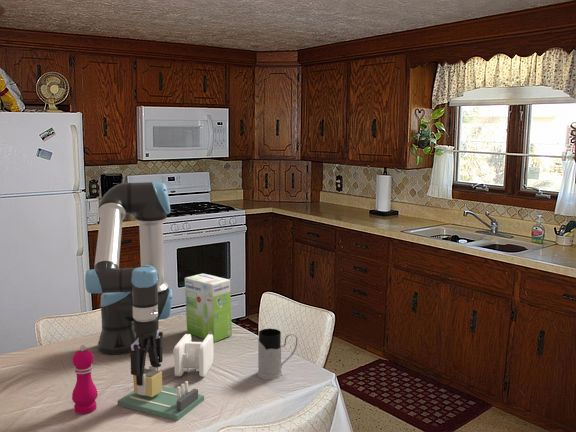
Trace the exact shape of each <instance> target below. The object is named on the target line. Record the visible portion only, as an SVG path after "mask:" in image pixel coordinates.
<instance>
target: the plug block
mask: <svg viewBox="0 0 576 432" xmlns="http://www.w3.org/2000/svg"><path fill="white" fill-rule="evenodd" d="M144 374H146V396H150V397H153V396H155V395H156V394H158V393H159V392H161V391H162V386H163V372H162V371H159V370H158V371H155V370H150V369H149V368H146V367H145V368H144ZM132 376H133V379H132V380H133V391H134V393H137V394H138V390H137V384H136V375H132Z"/></svg>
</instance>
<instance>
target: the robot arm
mask: <svg viewBox="0 0 576 432" xmlns="http://www.w3.org/2000/svg"><path fill="white" fill-rule="evenodd" d="M168 192H169V191H168V187H167V185H166V184H165V183H164V182H155V181H149V182H148V181H145V182H122V183H118V184H116V185H114V186H113V187H111V188H109V189H108V190H107V192H105V194H104V195H103V196H102V198H101V199H100V202H99V204H98V207H97V208H98V209H97V216H98V217H99V224H98V225H99V226H98V233H97V239H96V240H97V241H96V249H95V259H94V267H93V268H91V269H88V270H86V273H85V276H84V277H85V279H84V281H85V282H84V285H85V290H86V291H87V293H88V294H101V295H100V314H101V332H100V334H99V335H100V336H99V339H98V342H97V351H98V352H99V353H101V354H103V355H112V356H113V355H122V354H128V353H130V355H129V357H130V375H132V376H133V375H136V384H137V390H138V394H140V395H144V396H145V395H146V374H144V368H145V369H146V367H145V366H146V361H147V360H146V358H147V353H148V358H149V363H150V366H148V369H150V370H155V371H159V368H160V367H162V363H163V335H164V333H163V331H158V330H159V322H160V321H159V320H167V319H168V318H169V317H170V315H171V311H172V310H171V309H172V302H173V300H172V299H173V289H171V288H170V287H169V284H168V283H167V282H166V281H165V258H164V256H165V255H164V254H165V253H164V252H165V251H164V222H165V221H166V220H167V218H168V217H167V216H168V215H170V213H171V205H170V204H171V203H170V197H169V193H168ZM126 215H134V220H135V221H136V222H137V223H138V224H139V225H138V229H139V246H140V248H139V249H140V251H139V252H140V267H139V266H138V267H126V268H120V256H121V244H122V243H121V242H122V230H123V221H124V220H125V218H126V217H127V216H126Z"/></svg>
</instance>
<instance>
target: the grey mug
mask: <svg viewBox="0 0 576 432" xmlns="http://www.w3.org/2000/svg"><path fill="white" fill-rule="evenodd" d="M281 335H282V333H281V330H279V329H276V328H263V329H261V330H259V331H258V338H257V339H258V345H257V346H258V348H257V351H258V353H257V355H258V361H257V363H258V365H257V366H258V370H257V373H256V375H257V377H259V378H261V379H264V380H275V379H276V380H277V379H278V378H281V377H282V376H283V372H282V368H283V365H284V364H285V363H286V362H287V361H288V360H290V358H292V356H293V355H294V354H295V352H296V350H297V347H298V337H297V336H296V335H295V333H289V334H287V335H285V338H284V344H283V345H281V343H282V342H281V338H282V337H281ZM289 336H294V337H295V339H296V340H295V345H294V349H293V351H292V352H291V353H290V355H289V356H288V357H287V358H286V359H284V360H283V361H282V348H284V347H285V346H286V345H287V339H288V337H289Z"/></svg>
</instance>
